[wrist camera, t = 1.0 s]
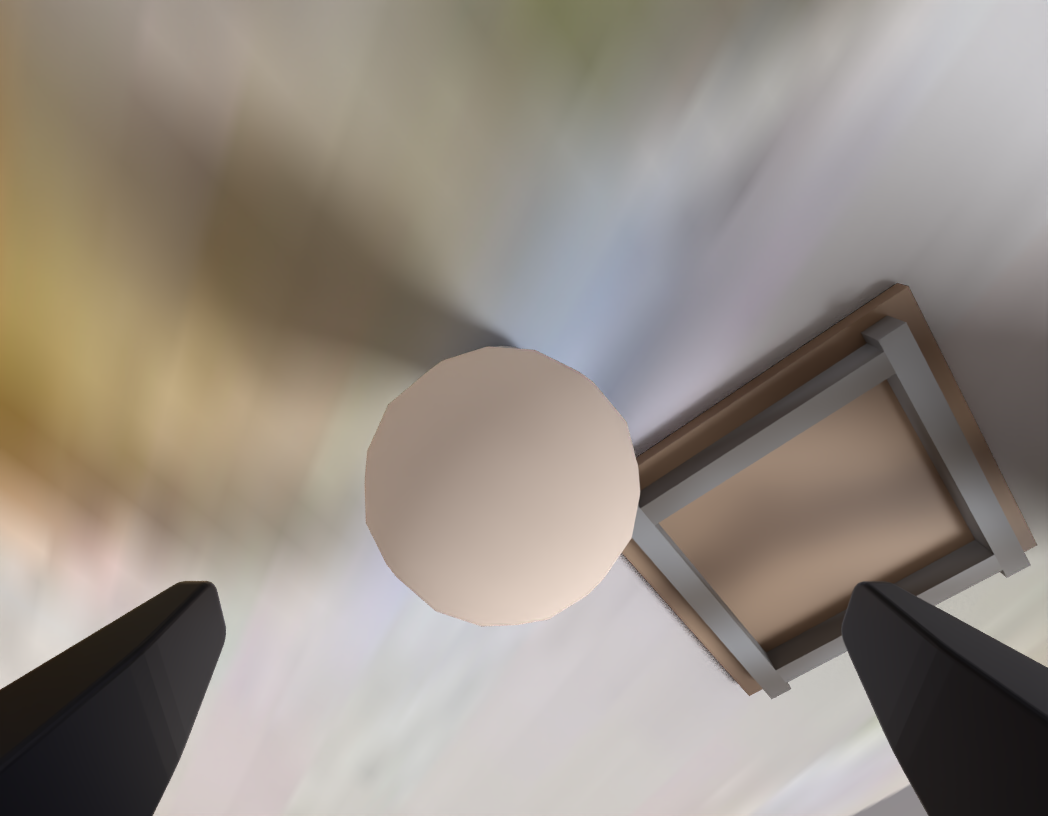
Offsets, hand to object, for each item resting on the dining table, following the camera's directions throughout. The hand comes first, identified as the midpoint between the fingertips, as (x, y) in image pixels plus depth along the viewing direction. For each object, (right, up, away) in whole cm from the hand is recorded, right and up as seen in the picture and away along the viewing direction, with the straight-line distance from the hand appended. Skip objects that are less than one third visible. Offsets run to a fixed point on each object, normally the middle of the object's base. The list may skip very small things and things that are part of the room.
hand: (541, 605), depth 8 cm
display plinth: (+12, -2, +16) cm, 20 cm away
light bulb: (-1, +4, +13) cm, 14 cm away
